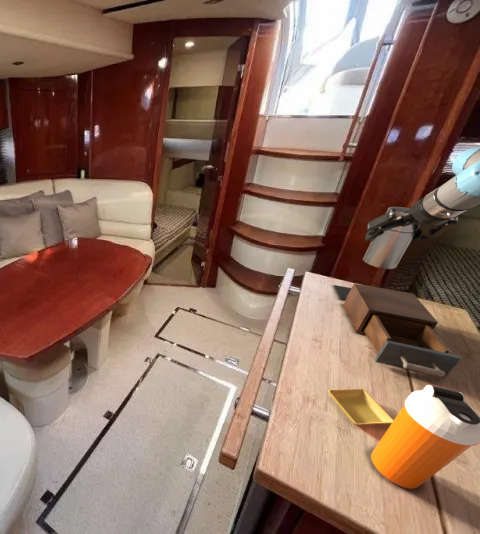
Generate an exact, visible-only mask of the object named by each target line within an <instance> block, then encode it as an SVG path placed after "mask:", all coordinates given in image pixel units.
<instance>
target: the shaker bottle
mask: <svg viewBox="0 0 480 534" xmlns="http://www.w3.org/2000/svg"><path fill="white" fill-rule="evenodd" d="M465 398H466V397H465V395H464V394H463V393H462V392H460V391H457V390H453V389H449V388H444V387H440V386H436V385H431V384H427V385H426V386H425V387H424V388H423V389H422V390H413V391H412V392H411V393H410V394H409V395H408V396H407V398H406V399H404V402H403V406H402V408H401V409H400V411H399V412H398V414H397V415H396V416H395V418H394V419H393V420H394V421H393V422H392V424H389V425H390V426H389V427H388V429H387V430H386V431H385V433H384V434H383V435H382V437H381V439H380V440H379V441H378V443H377V444H376V446H375V447H374V449H373V450H372V452H371V454H370V459H371V462H372V464H373V465H374V467H375V469H376V470H377V471H378V472H379V473H380V474H381V475H382V476H383V477H385V478H386V479H387V480H389V481H390V482H392V484H395V485H398V486H399V487H401V488H405V489H417V488H419V487H420V486H421V485H422V484H424V483H425V482H427V481H428V480H429V479H431V478H432V477H433V476H435V475H436V474H437V473H438V472H440V471H441V470H443V469H444V468H445V467H446V466H447V465H449V464H450V463H452V462H453V461H454V460H455V459H457V458H458V457H460V456H461V455H462V454H463V453H465V452H466V451H467V450H468V449H470V448H472V447H474V446H477V445H479V444H480V415H479V414H478V413H477V412H476V411H475V410H473V408H472V407H471V406H470V405H469V404H468V403H467V402H466V399H465Z"/></svg>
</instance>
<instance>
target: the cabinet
mask: <svg viewBox="0 0 480 534" xmlns="http://www.w3.org/2000/svg"><path fill="white" fill-rule="evenodd" d="M350 288H351V290H350V292H349V294H348V296H347V298H346V300H344V302H343V304H342V307H343V309H344V311H345V313H346V315H347V317H348V319H349V322H350V324H351V325H352V328H353V329H354V332H355V333H356V334H361V335H365V336H366V334H365V332H364V328H365V326H366V325H367V323H368V321H369V319H370V318H371V316H372V314H373V313H374V314H379V315H384V316H389V317H394V318H400V319H405V320H410V321H415V322H420V323H425V324H429V326H430V327H431V328H432V329H433V330H435V328H436V327H437V325H438V324H439V322H438V320H437V319H436V318H435V317H434V316H433V315H432V313H431V312H430V311H429V310H428V308H427V307H426V306H425V305H424V304H423V303H422V302H421V301H420V299H419V298H418V297H417V296H416V294H415V293H412V292H407V291H402V290H395V289H390V288H382V287H377V286H370V285H365V284H360V283H359V284H358V283H353V284H352V286H351V287H350Z"/></svg>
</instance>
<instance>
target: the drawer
mask: <svg viewBox="0 0 480 534" xmlns="http://www.w3.org/2000/svg"><path fill="white" fill-rule="evenodd" d="M364 332H365V334H366V335H365V334H364V335H365V336H366V338H367V340H368V342H369V344H370V346H371V348H372V349H373V351H374V353H375V357H374V358H373V360H374V362H375V363H378V364H382V365H386V366H392V367H395V368H398V369H404V370H407V371H411V372H414V373H415V372H416V373H420V374H423V375H428V376H432V377H437V378H441V379H446V378H447V376H448V375H449V374H450V373H451V371H453V369H454V368H455V367H456V366H457V365H458V363H459V362H460V361H461V360H462V358H461V357H460V356H459V355H458V354H454V353H450V352H451V351H450V349H449V348H448V347H447V346H446V344H445V343H444V342H443V340H442V339H441V338H440V337H439V335H438V334H437V333H436V332H435V330H434V329H432V328H431V327H430V326H429V324H425V323H420V322H415V321H410V320H405V319H400V318H394V317H389V316H384V315H379V314H374V313H373V314H372V316H371V318H370V319H369V321H368V323H367V325H366V326H365V328H364Z"/></svg>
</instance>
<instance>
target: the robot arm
mask: <svg viewBox="0 0 480 534" xmlns="http://www.w3.org/2000/svg"><path fill="white" fill-rule="evenodd" d="M451 171H452V173H453V174H454V176H453V177H452V178H450V179H449V180H448V181H446V182H445V183H442V185H439V186H438V187H437V188H435V189H434V190H432V191H430V192H429V193H428V194H426V195H425V196H423V197H422V198H420V199H419V200H418V201H416V202H415V203H414V204H413V205H412V206H411V208H410V209H408V210H405V211H404V212H396V209H391V210H389V212H388V213H386V212H385V213H386V214H385V213H384V214H382V215H380V216H378V217H376V218H374V219H372V220H370V221H368V222H367V229H366V230H367V232H366V233H365V242H371V241H372V239H373V238H375V237H376V236H378V235H379V234H381V231H384V230H388V229H392V228H395V227H399V226H402V227H404V226H408V225H412V224H413V225H420V226H421V228H420V229H419V228H418V230H417V232H416V233H415V235H414V237H413V238H412V240H411V242H410V244H411V243H413V242H415V241H419V240H420V241H426V240H427V241H428V237H430V238H431V239H437V238H438V237H439V236H441V235H442V234H443V233H445V232H446V231H447V230H448V229H450V228H452V227H454V226H457V225H458V224H459V216H460V215H461V214H463V213H465V212H467V211H469V210H471V209H473V208H475V207H476V206H478V205H480V146H475V147H470V148H468V149H467V150H464V151H462V152H460V153H459V154H458V155H457V156H456V157H455V158H454V160H453V162H452V165H451ZM432 226H433V227H432Z"/></svg>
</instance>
